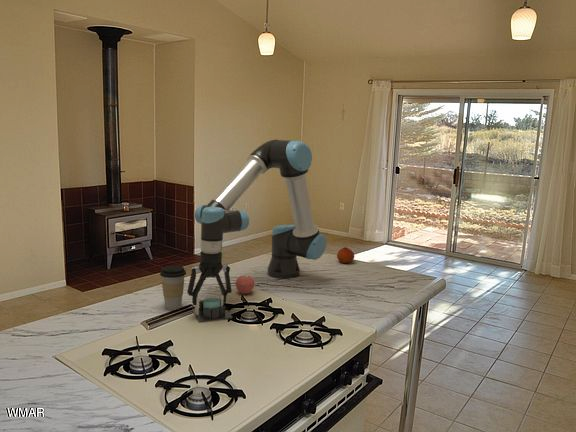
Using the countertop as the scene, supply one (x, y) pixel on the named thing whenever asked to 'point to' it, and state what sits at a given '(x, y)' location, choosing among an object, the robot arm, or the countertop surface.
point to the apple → (244, 284)
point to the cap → (211, 303)
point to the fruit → (345, 255)
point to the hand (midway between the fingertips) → (208, 312)
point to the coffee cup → (173, 286)
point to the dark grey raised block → (211, 313)
